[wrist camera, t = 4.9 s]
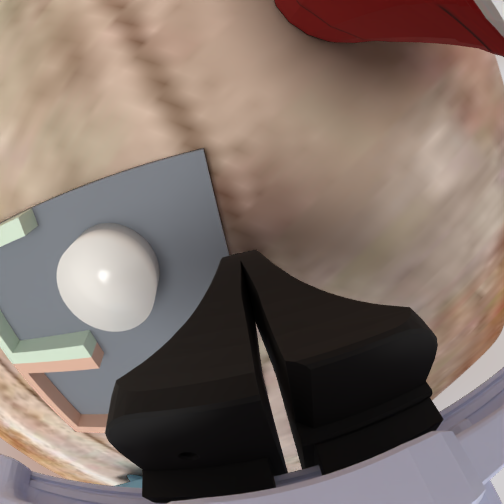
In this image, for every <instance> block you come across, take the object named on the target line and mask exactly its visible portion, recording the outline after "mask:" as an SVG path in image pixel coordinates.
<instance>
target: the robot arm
mask: <svg viewBox="0 0 504 504" xmlns="http://www.w3.org/2000/svg"><path fill="white" fill-rule="evenodd" d="M255 322H256V323H255ZM256 324H257V327H258V329H259V332H260V335H261V337H262V340H263V342H264V345H265V347H266V350H267V353H268V355H269V358H270V360H271V363H272V365H273V368H274V371H275V374H276V377H277V380H278V384H279V388H280V391H281V395H282V398H283V402H284V406H285V409H286V413H287V416H288V420H289V424H290V427H291V431H292V434H293V438H294V442H295V445H296V449H297V452H298V456H299V460H300V463H301V467H302V470H298V471H294V472H290V473H288V471H287V468H286V464H285V460H284V457H283V453H282V449H281V445H280V442H279V438H278V434H277V430H276V426H275V423H274V419H273V415H272V411H271V407H270V403H269V399H268V395H267V391H266V387H265V383H264V379H263V373H262V367H261V360H260V353H259V345H258V338H257V330H256ZM437 346H438V344H437V337H436V336H435V334H434V333H433V332H432V331H431V330H430V328H429V327H428V326H427V325H426V324H425V322H424V321H423V320H422V319H421V318H420V317H419V316H418V315H417V314H416V313H415V312H414V311H413V310H412V309H411V308H410V307H399V306H388V305H378V304H372V303H367V302H361V301H356V300H352V299H348V298H344V297H341V296H338V295H334V294H331V293H328V292H325V291H322V290H320V289H317V288H315V287H313V286H310V285H308V284H306V283H304V282H302V281H300V280H298V279H296V278H294V277H293V276H291V275H289V274H288V273H286V272H285V271H283V270H282V269H280V268H279V267H277V266H276V265H275V264H273V263H272V262H271V261H269V260H268V259H267V258H266V257H264V256H263V255H262V254H261V253H260V252H259V251H257V250H251V251H247V252H243V253H239V254H235V255H231V256H226V257H222V259H221V260H220V263H219V265H218V268H217V271H216V273H215V275H214V277H213V280H212V282H211V284H210V286H209V288H208V290H207V291H206V293H205V295H204V297H203V298H202V300H201V302H200V303H199V305H198V306H197V308H196V309H195V311H194V312H193V314H192V315H191V316H190V318H189V319H188V320H187V321H186V322H185V324H184V325H183V326H182V327H181V328H180V329H179V330H178V331H177V332H176V333H175V334H174V335H173V336H172V337H171V339H170V340H169V341H167V342H166V343H165V344H164V345H163V346H162V347H161V348H160V349H159V350H157V351H156V352H155V353H154V354H153V355H151V356H150V357H149V358H148V359H146V360H145V361H144V362H143V363H141V364H140V365H138V366H137V367H135V368H134V369H132V370H131V371H130V372H128V373H127V374H125V375H124V376H122V377H121V378H119V379H117V380H116V382H115V386H114V389H113V392H112V396H111V401H110V407H109V412H108V418H107V424H106V430H105V434H106V436H107V439H108V441H109V442H110V443H111V444H112V445H113V446H114V447H115V448H116V449H117V450H118V451H119V452H120V453H121V454H123V455H124V456H125V457H126V458H128V459H129V460H130V461H132V462H133V463H134V464H136V465H137V466H138V467H140V468H141V469H143V475H142V488H131V487H117V486H107V485H98V484H91V483H84V482H78V481H72V480H67V479H62V478H57V477H53V476H49V475H45V474H41V473H37V472H33V471H31V470H30V469H29V468H27V467H26V466H25V465H23V464H22V463H20V462H19V461H17V460H15V459H14V458H11V457H9V456H5V455H2V454H0V504H502V502H501V500H500V498H499V496H498V494H497V492H496V490H495V488H494V486H493V485H492V483H491V481H490V479H491V478H492V477H494V476H495V475H496V474H497V473H498V472H499V471H500V470H501V469H502V468H503V467H504V367H503V368H502V369H501V370H499V371H498V372H497V373H496V374H494V375H493V376H492V377H490V378H489V379H488V380H487V381H485V382H484V383H483V384H481V385H480V386H478V387H477V388H476V389H474V390H473V391H471V392H470V393H469V394H467V395H466V396H464V397H462V398H461V399H459V400H458V401H456V402H455V403H453V404H452V405H450V406H448V407H447V408H445V409H444V410H442V411H440V412H439V411H438V410H437V408H436V407H435V405H434V403H433V402H432V400H431V399H430V397H431V395H432V389H431V388H430V387H429V385H428V384H427V382H426V379H427V377H428V374H429V372H430V369H431V367H432V364H433V362H434V359H435V355H436V351H437Z"/></svg>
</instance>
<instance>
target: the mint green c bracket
mask: <svg viewBox="0 0 504 504" xmlns="http://www.w3.org/2000/svg"><path fill="white" fill-rule="evenodd" d="M37 226H38V224H37V221H36V218H35V216H34V213H33V210H32V208H31V209H29V210H27V211H25V212H23V213H21V214H19V215H17V216H15V217H13V218H11V219H9V220H7V221H5V222H3V223H1V224H0V247H1V246H3V245H5V244H8V243H10V242H12V241H15V240H17V239H19V238H21V237H24V236H26V235H27V234H28V233H29V232H31V231H32V230H33V229H34V228H36V227H37ZM96 343H97V341H96V339H95V338H94V336H93V335H92V333H91V331H90V330H86V331H80V332H74V333H68V334H62V335H55V336H49V337H42V338H35V339H28V340H19V339H18V337H17V336H16V334H15V333H14V331H13V329H12V328H11V326H10V325H9V323H8V322H7V320H6V318H5V317H4V315H3V313H2V312H1V310H0V347H1V349H2V350H3V352H4V353H5V354H6V356H7V357H8V358H9V360H10V361H11V362H12V364H21V363H37V362H50V361H61V360H71V359H81V358H89V357H92V354H93V351H94V349H95V346H96Z"/></svg>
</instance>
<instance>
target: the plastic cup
mask: <svg viewBox="0 0 504 504" xmlns="http://www.w3.org/2000/svg"><path fill="white" fill-rule="evenodd" d="M274 1H275V4H276V6H277V7H278V9H279V10H280V11H281V12H282V14H283V15H284V16H285V17H286V19H287V20H288V21H289V22H290V23H291V24H293V25H295V26H296V27H298V28H299V29H300V30H302V31H303V32H305V33H306V34H308V35H311V36H314V37H317V38H320V39H323V40H326V41H329V42H349V43H358V42H367V41H387V42H424V43H439V44H450V45H459V46H466V47H473V48H479V49H482V50H485V51H487V52H490V53H493V54H496V55H500V56H503V57H504V0H274Z"/></svg>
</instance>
